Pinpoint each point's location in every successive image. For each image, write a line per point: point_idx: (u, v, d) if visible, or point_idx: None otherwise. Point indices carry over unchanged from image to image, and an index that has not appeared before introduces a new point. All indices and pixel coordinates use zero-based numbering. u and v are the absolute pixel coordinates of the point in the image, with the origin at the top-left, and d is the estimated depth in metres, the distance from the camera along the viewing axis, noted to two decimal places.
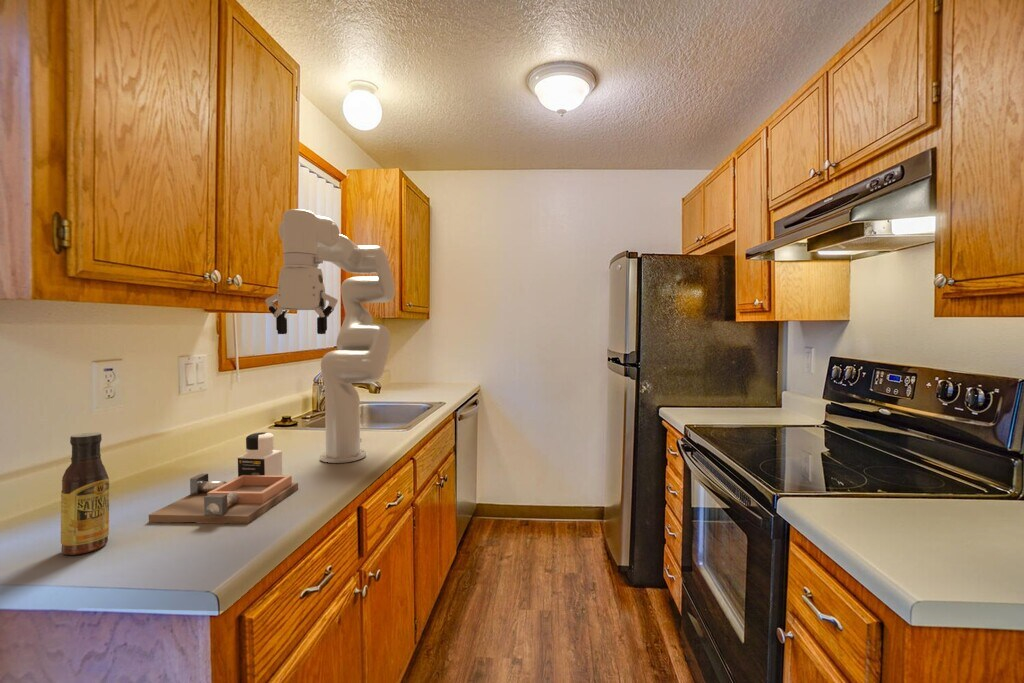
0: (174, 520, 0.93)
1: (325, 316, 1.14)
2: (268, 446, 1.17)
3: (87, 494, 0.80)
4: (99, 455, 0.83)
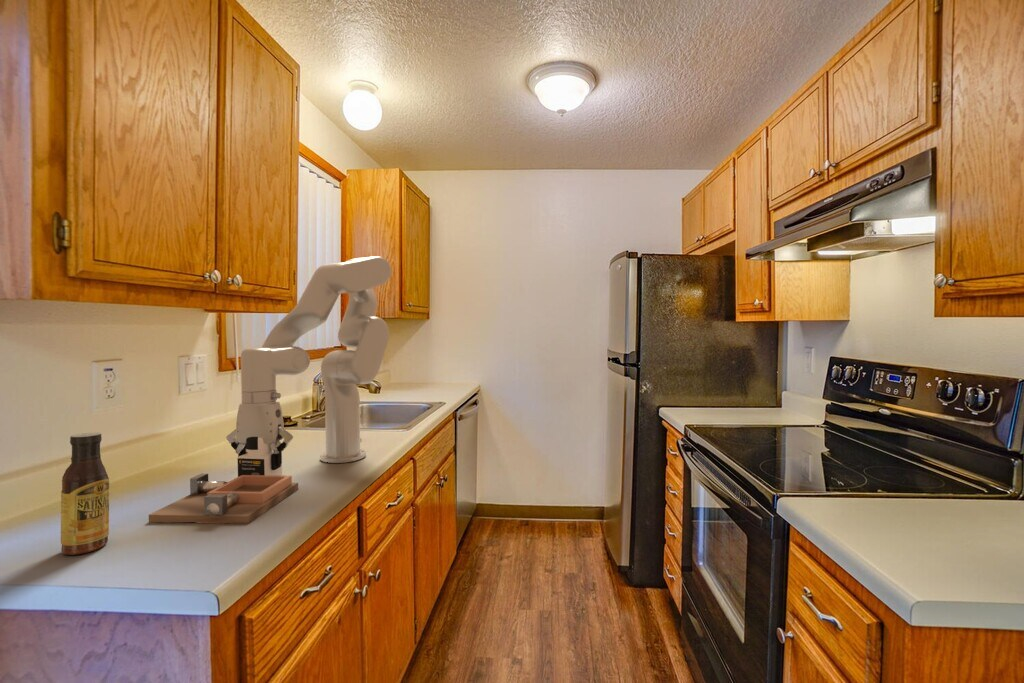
0: (174, 520, 0.93)
1: (279, 452, 1.17)
2: (268, 446, 1.17)
3: (87, 494, 0.80)
4: (99, 455, 0.83)
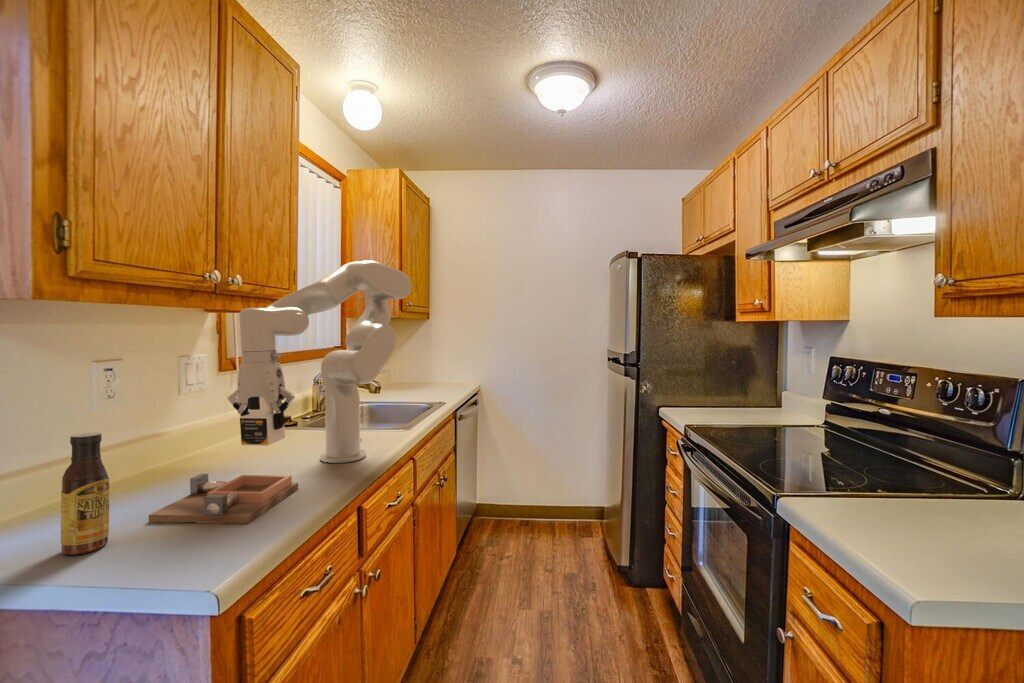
0: (174, 520, 0.93)
1: (281, 411, 1.18)
2: (270, 406, 1.17)
3: (87, 494, 0.80)
4: (99, 455, 0.83)
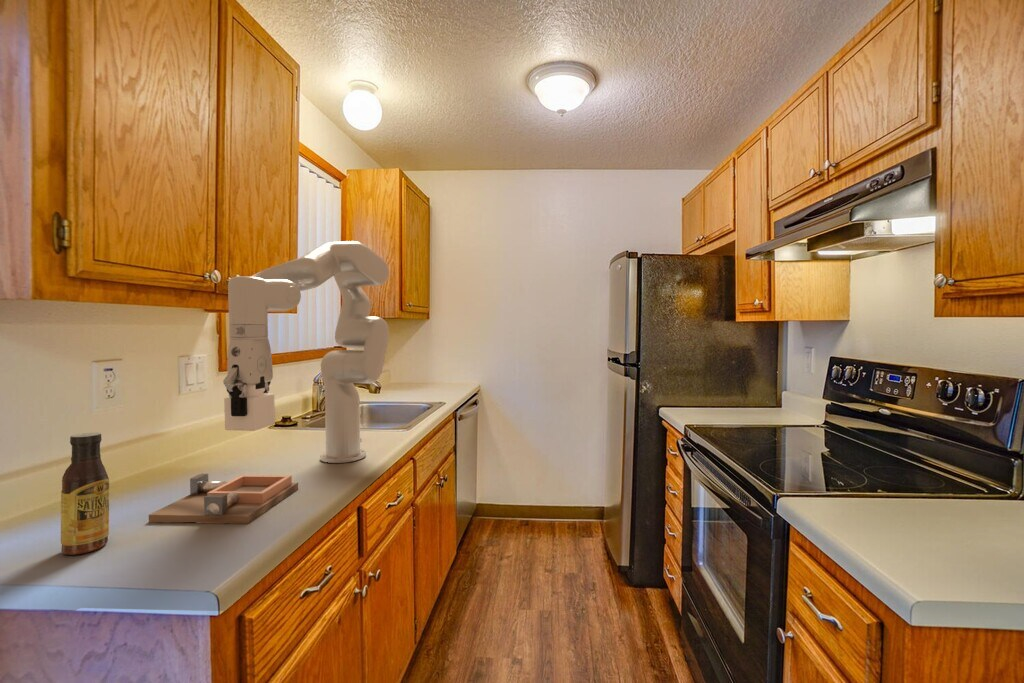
0: (174, 520, 0.93)
1: (233, 397, 1.00)
2: None
3: (87, 494, 0.80)
4: (99, 455, 0.83)
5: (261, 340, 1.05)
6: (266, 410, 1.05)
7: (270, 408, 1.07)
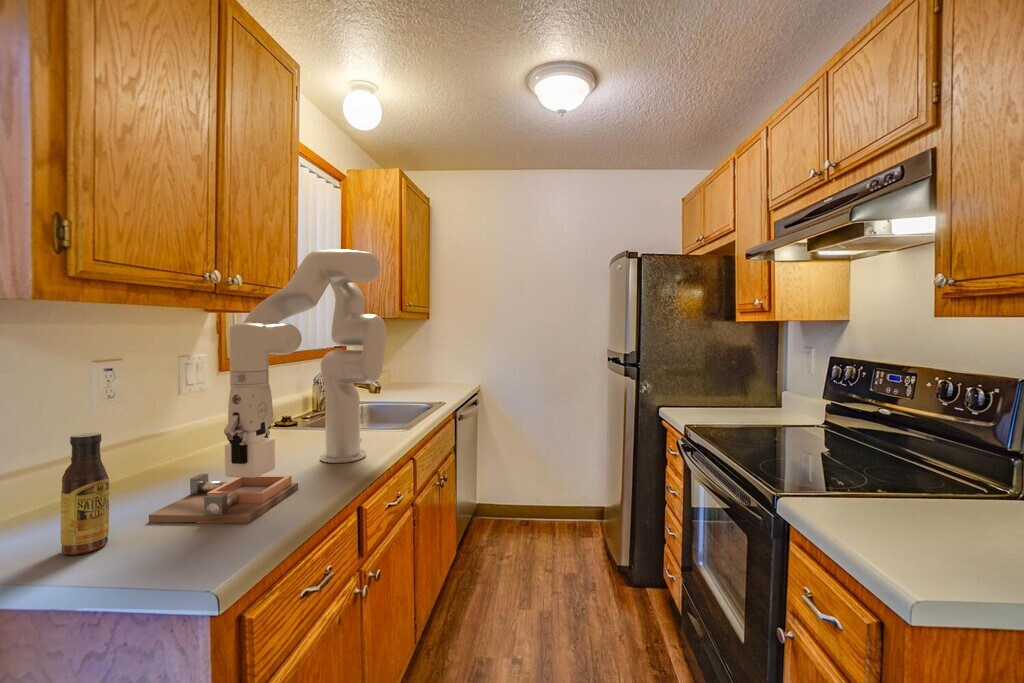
0: (174, 520, 0.93)
1: (234, 445, 1.00)
2: None
3: (87, 494, 0.80)
4: (99, 455, 0.83)
5: (262, 386, 1.05)
6: (266, 456, 1.05)
7: (270, 453, 1.07)
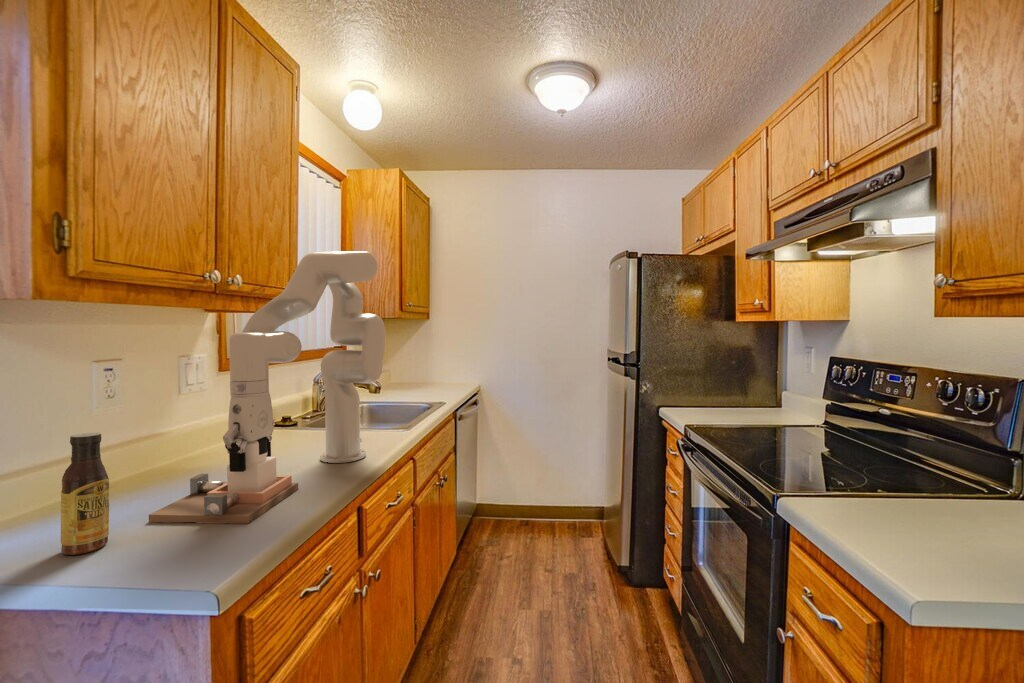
0: (174, 520, 0.93)
1: (232, 453, 1.00)
2: None
3: (87, 494, 0.80)
4: (99, 455, 0.83)
5: (262, 395, 1.05)
6: (268, 475, 1.06)
7: (272, 472, 1.08)
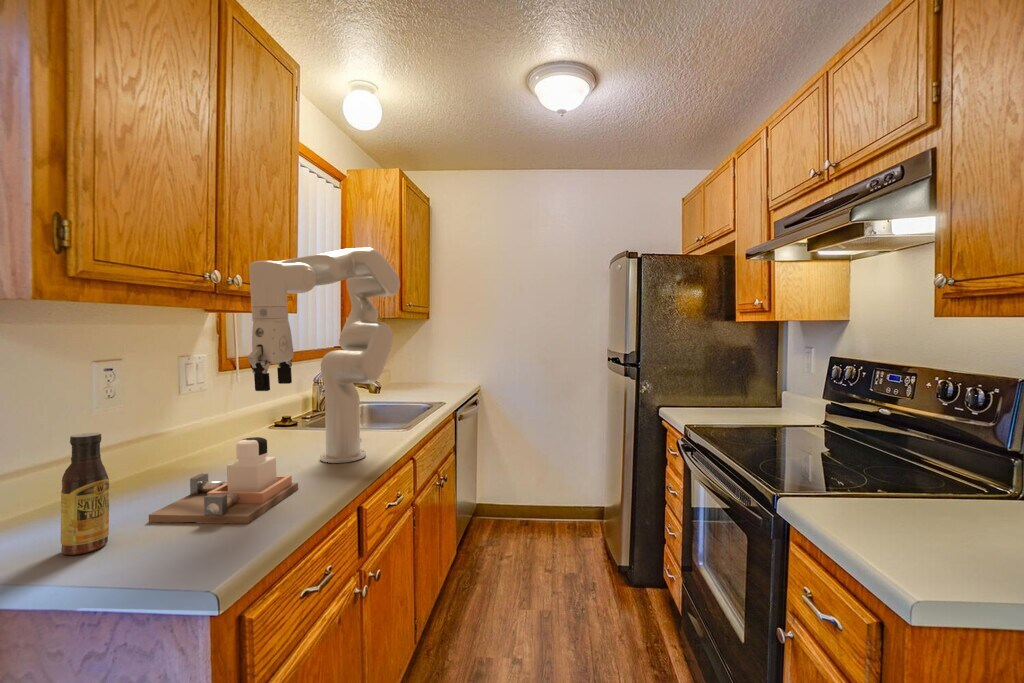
0: (174, 520, 0.93)
1: (257, 373, 1.06)
2: (240, 455, 1.03)
3: (87, 494, 0.80)
4: (99, 455, 0.83)
5: (282, 321, 1.11)
6: (268, 475, 1.06)
7: (272, 472, 1.08)
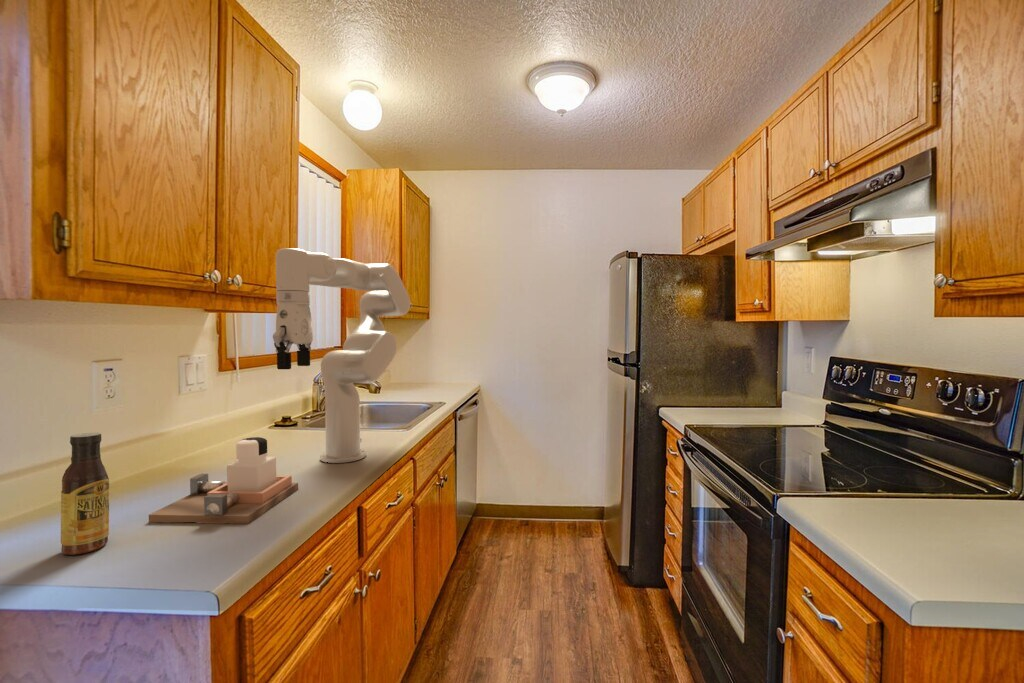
0: (174, 520, 0.93)
1: (280, 352, 1.13)
2: (240, 455, 1.03)
3: (87, 494, 0.80)
4: (99, 455, 0.83)
5: (304, 305, 1.19)
6: (268, 475, 1.06)
7: (272, 472, 1.08)
